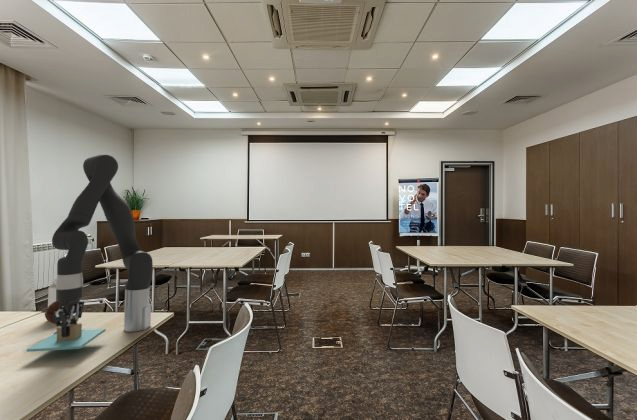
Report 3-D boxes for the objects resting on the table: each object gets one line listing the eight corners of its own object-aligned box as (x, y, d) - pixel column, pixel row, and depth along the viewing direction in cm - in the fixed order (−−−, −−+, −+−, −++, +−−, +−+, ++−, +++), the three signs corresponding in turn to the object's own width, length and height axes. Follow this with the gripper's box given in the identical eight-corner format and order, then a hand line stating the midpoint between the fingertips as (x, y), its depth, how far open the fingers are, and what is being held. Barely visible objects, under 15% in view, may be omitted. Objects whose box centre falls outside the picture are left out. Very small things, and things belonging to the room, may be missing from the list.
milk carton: (74, 317, 148) (75, 277, 148) (57, 322, 141) (59, 280, 142) (64, 315, 150) (65, 276, 151) (47, 320, 143) (48, 278, 144)
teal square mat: (105, 330, 120) (105, 317, 120) (80, 348, 104) (80, 332, 105) (59, 333, 118) (59, 319, 118) (26, 351, 102) (26, 335, 102)
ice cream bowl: (85, 329, 132) (86, 294, 133) (61, 339, 121) (62, 301, 122) (62, 328, 133) (63, 293, 134) (36, 338, 122) (37, 299, 123)
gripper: (68, 290, 105) (68, 341, 105) (92, 281, 119) (92, 326, 119) (43, 291, 104) (43, 343, 104) (70, 282, 118) (70, 327, 118)
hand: (69, 334), depth 111 cm, fingers closed on teal square mat, 3 cm apart
